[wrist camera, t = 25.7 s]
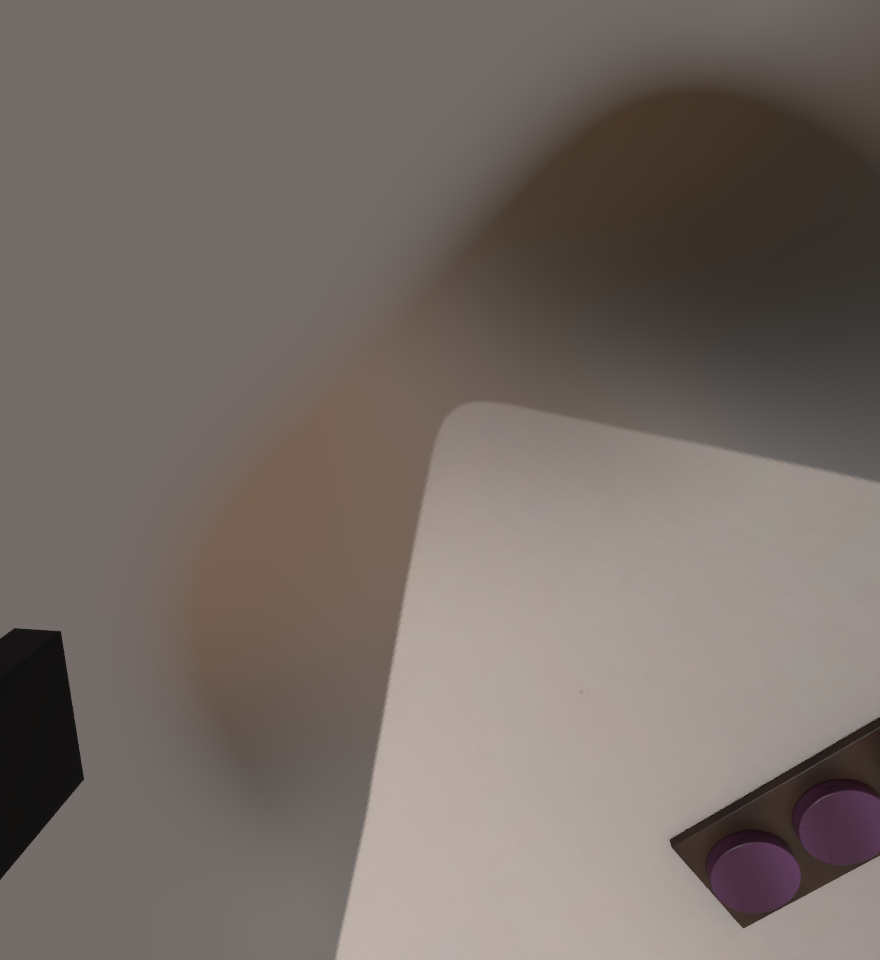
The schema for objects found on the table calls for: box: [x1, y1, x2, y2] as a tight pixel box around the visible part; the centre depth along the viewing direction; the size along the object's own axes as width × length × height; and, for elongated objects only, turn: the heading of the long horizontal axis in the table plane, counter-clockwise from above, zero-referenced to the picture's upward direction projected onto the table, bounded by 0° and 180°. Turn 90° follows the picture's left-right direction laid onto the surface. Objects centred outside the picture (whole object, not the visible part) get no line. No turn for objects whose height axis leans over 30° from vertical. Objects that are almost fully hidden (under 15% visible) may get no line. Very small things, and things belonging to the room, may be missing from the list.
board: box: [670, 718, 880, 928], centre depth 42 cm, size 18×8×2 cm, turn 130°
